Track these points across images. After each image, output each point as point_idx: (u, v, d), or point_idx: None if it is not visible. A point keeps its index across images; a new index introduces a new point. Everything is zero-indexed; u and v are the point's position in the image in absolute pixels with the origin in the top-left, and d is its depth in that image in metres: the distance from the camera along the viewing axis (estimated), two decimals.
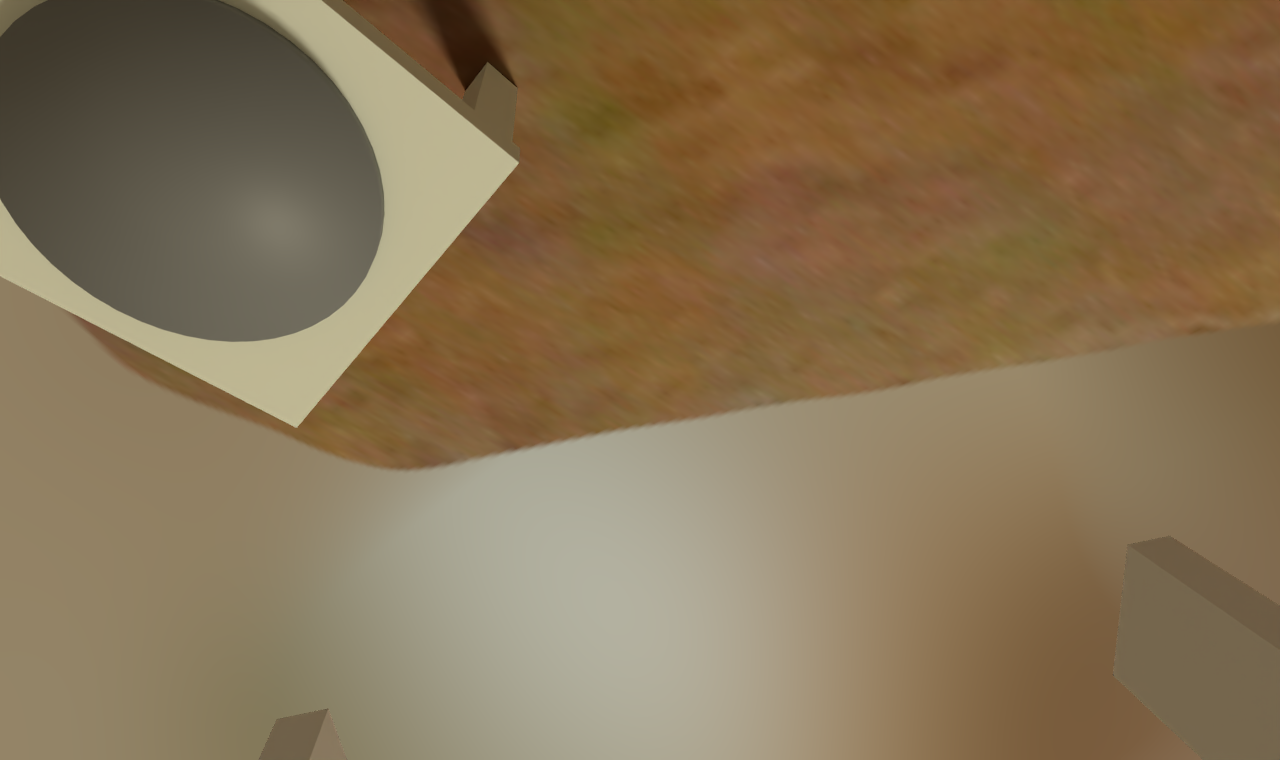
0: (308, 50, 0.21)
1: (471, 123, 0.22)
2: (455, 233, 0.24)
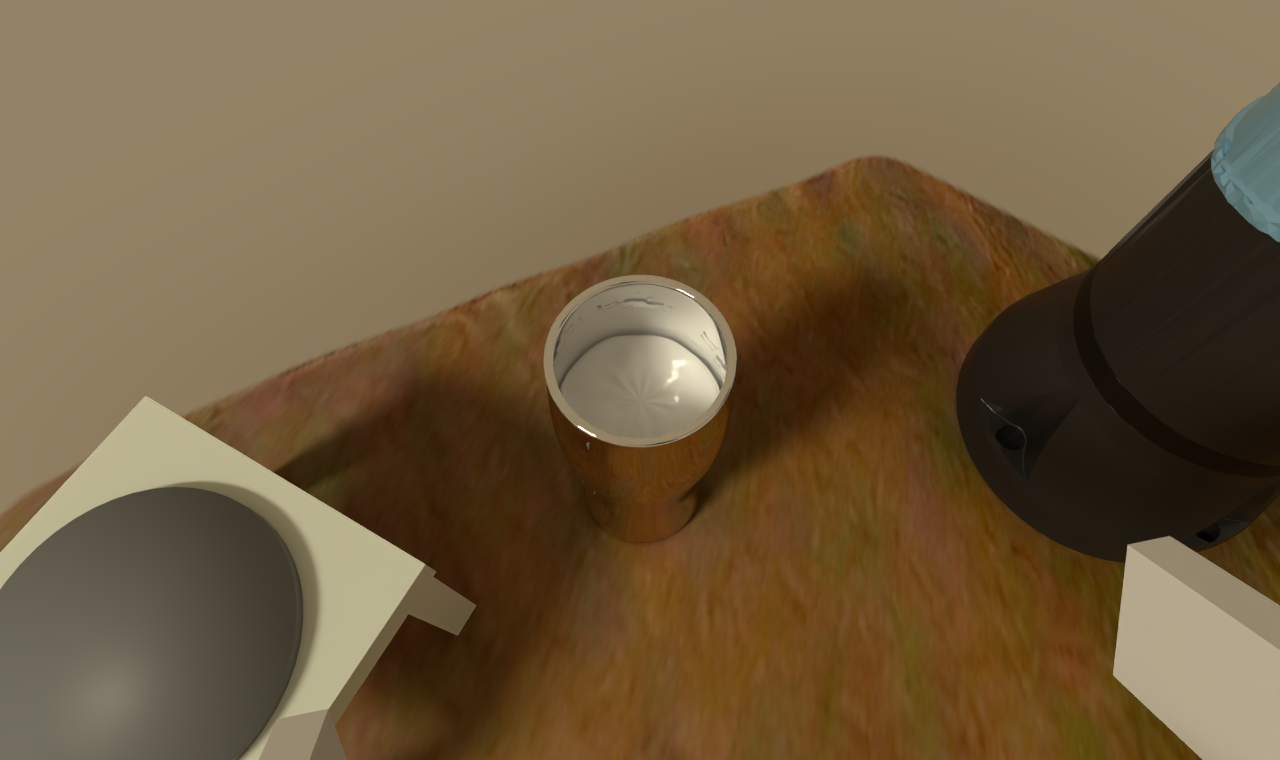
0: (255, 746, 0.23)
1: None
2: None
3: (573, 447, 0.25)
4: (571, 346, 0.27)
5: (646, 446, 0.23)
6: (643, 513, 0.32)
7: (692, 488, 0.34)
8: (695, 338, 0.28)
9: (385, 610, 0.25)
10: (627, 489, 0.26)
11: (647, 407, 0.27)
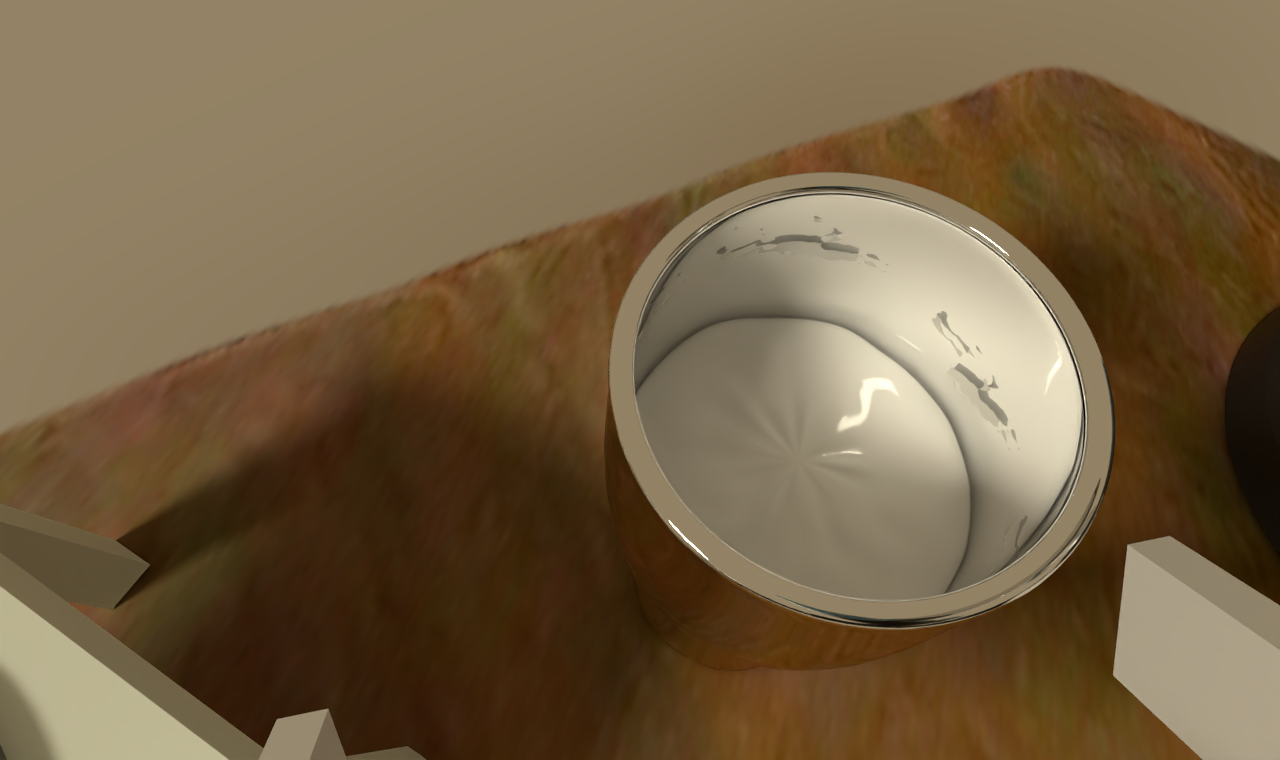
0: None
1: None
2: None
3: (670, 583, 0.10)
4: (652, 338, 0.13)
5: (907, 629, 0.08)
6: None
7: None
8: (909, 326, 0.13)
9: None
10: (782, 665, 0.11)
11: (813, 473, 0.13)
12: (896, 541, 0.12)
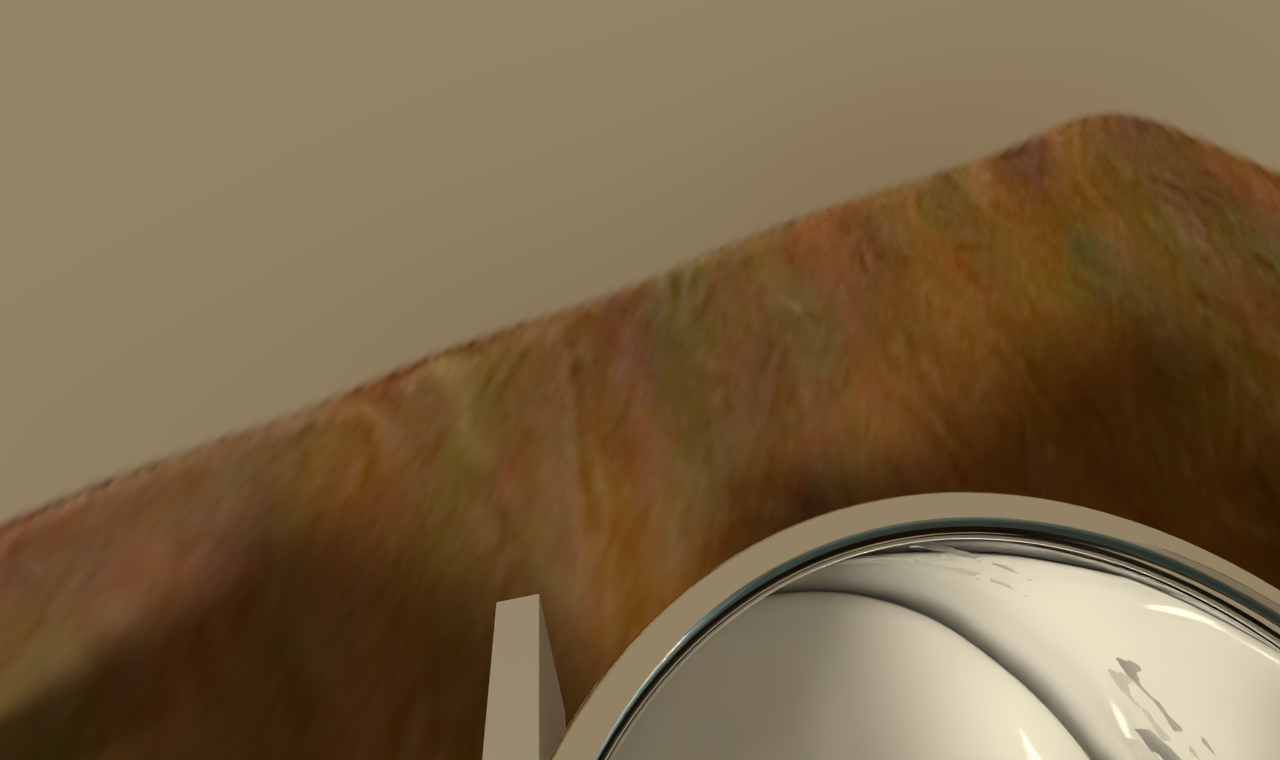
0: None
1: None
2: None
3: None
4: None
5: None
6: None
7: None
8: (1053, 649, 0.08)
9: None
10: None
11: None
12: None
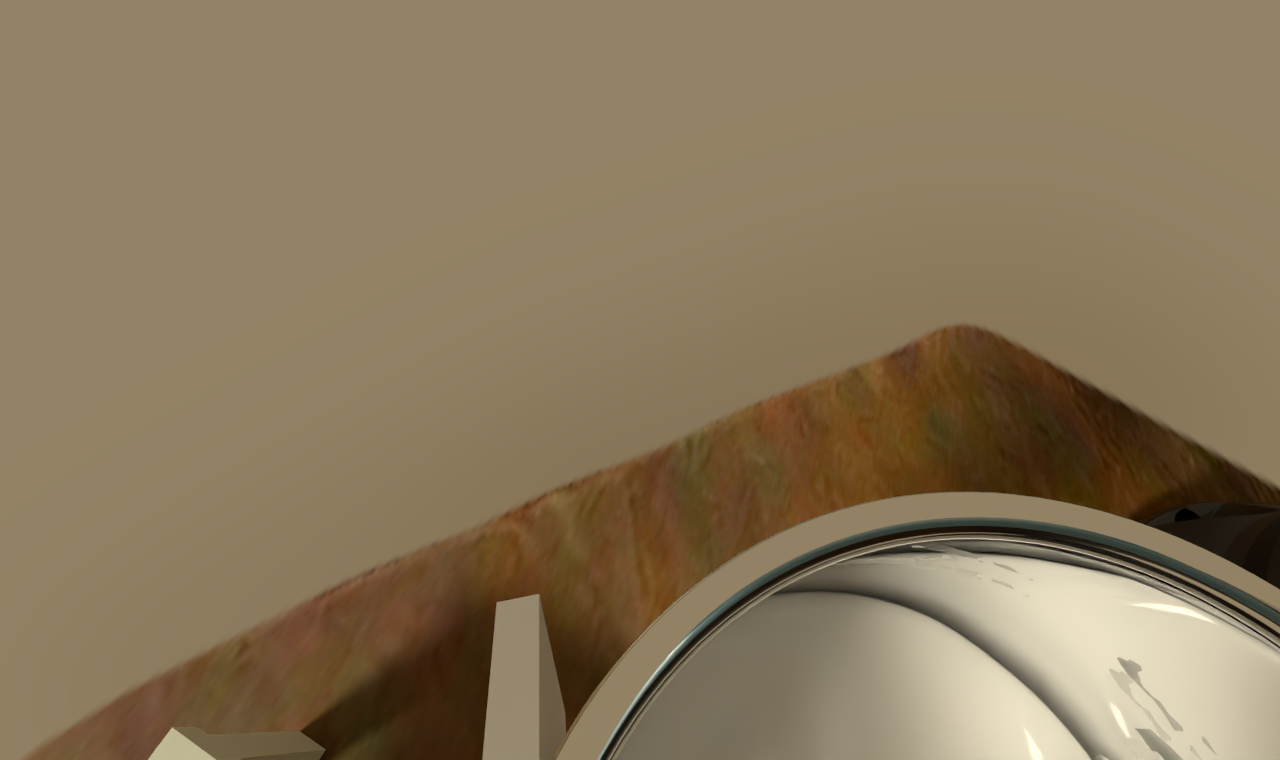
0: None
1: None
2: None
3: None
4: None
5: None
6: None
7: None
8: (1053, 648, 0.08)
9: None
10: None
11: None
12: None
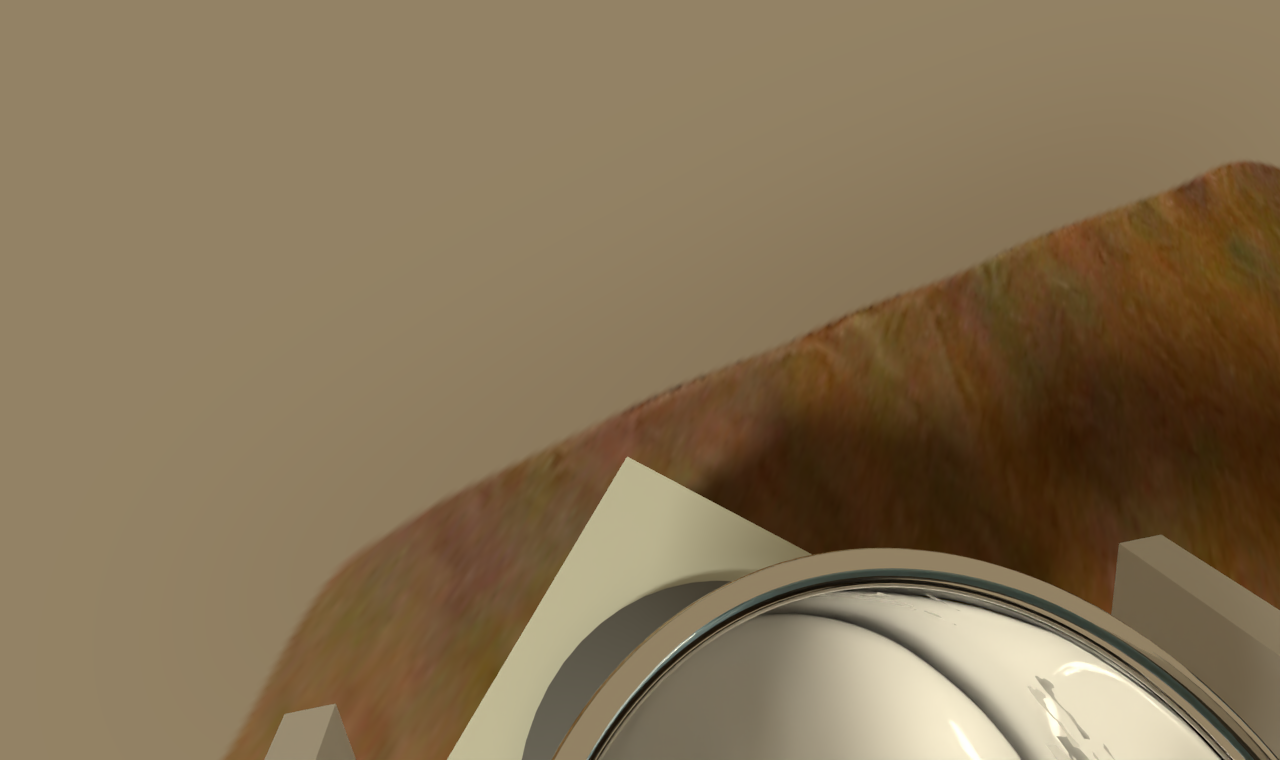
0: None
1: None
2: None
3: None
4: None
5: None
6: None
7: None
8: (986, 667, 0.09)
9: None
10: None
11: None
12: None
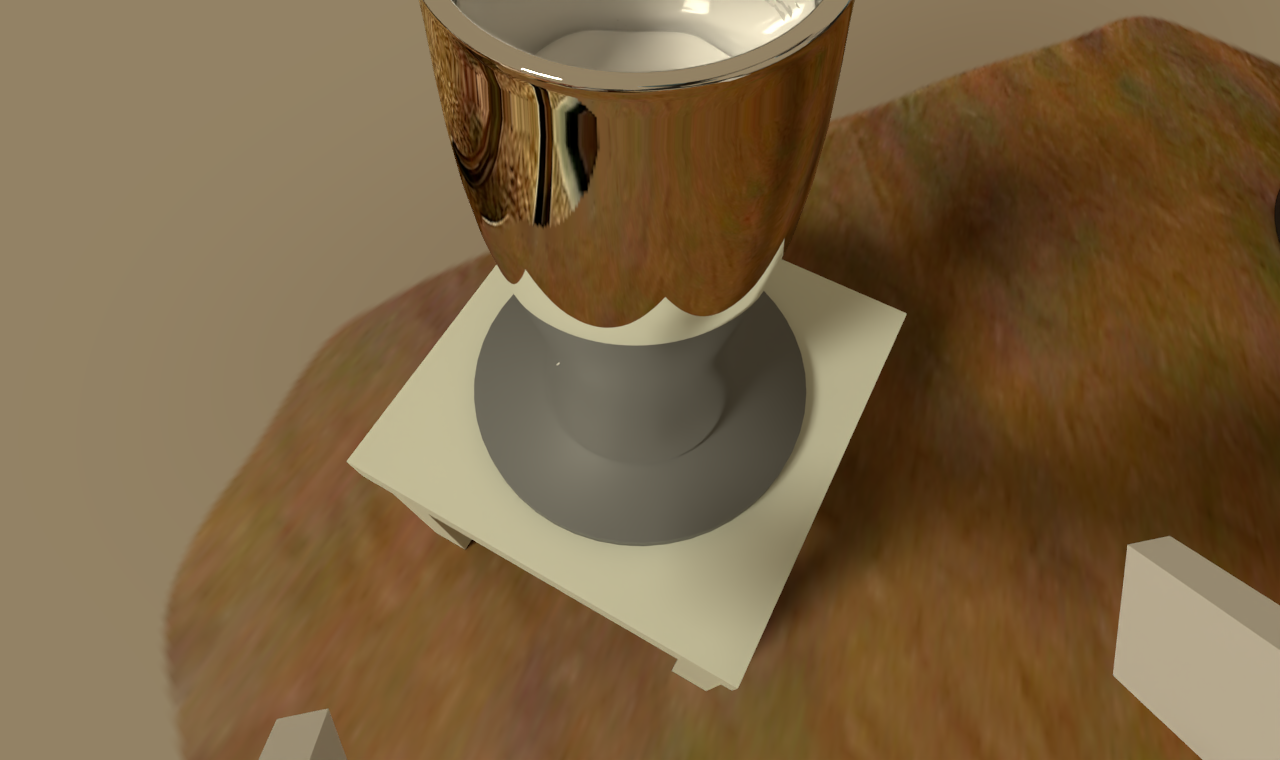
0: (786, 472, 0.23)
1: (764, 628, 0.21)
2: (636, 625, 0.21)
3: (486, 166, 0.11)
4: (497, 14, 0.14)
5: (653, 88, 0.09)
6: (641, 392, 0.18)
7: (723, 365, 0.20)
8: (746, 13, 0.14)
9: (879, 353, 0.25)
10: (609, 280, 0.12)
11: None
12: None
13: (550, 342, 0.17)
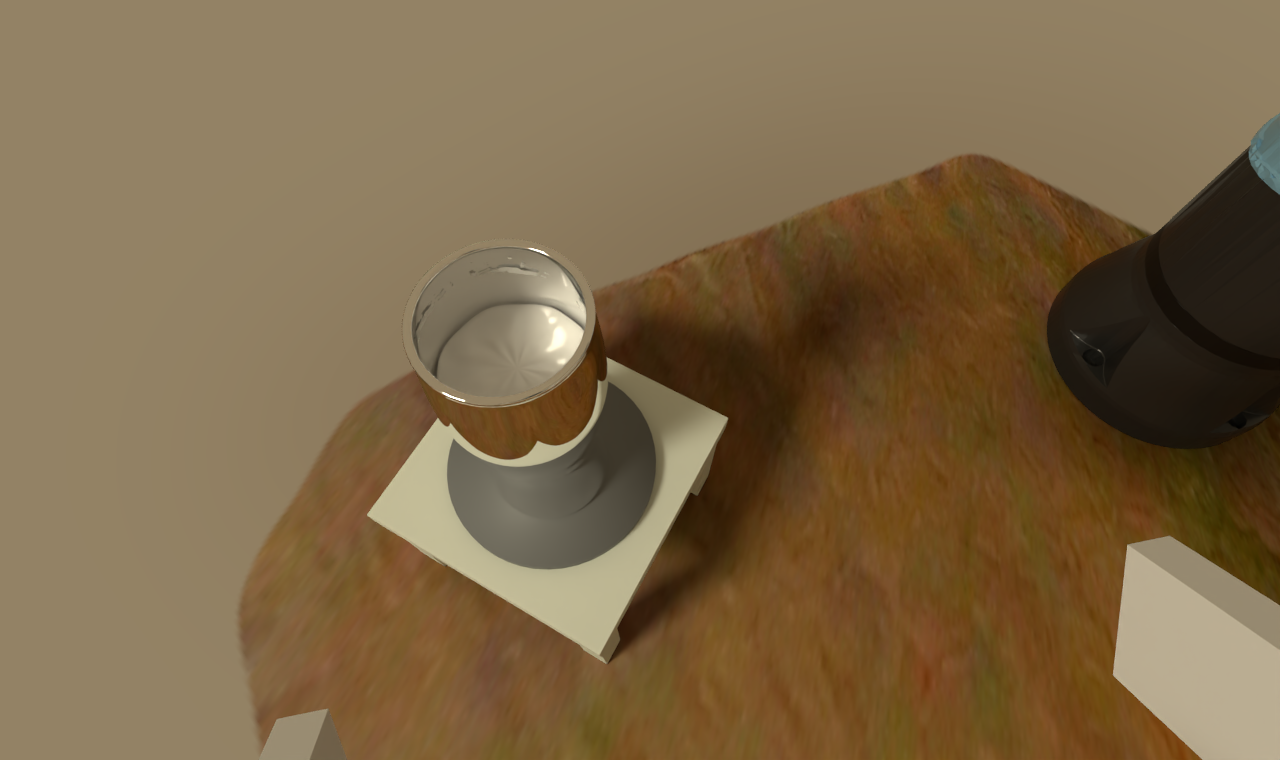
0: (640, 523, 0.37)
1: (618, 619, 0.35)
2: (541, 617, 0.35)
3: (437, 409, 0.25)
4: (448, 312, 0.28)
5: (496, 404, 0.23)
6: (536, 485, 0.32)
7: (592, 462, 0.34)
8: (574, 305, 0.28)
9: (707, 445, 0.39)
10: (497, 453, 0.26)
11: (523, 373, 0.27)
12: None
13: None
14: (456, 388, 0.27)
